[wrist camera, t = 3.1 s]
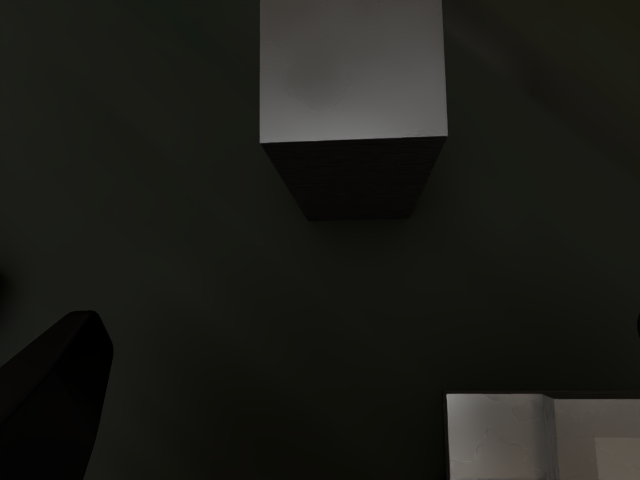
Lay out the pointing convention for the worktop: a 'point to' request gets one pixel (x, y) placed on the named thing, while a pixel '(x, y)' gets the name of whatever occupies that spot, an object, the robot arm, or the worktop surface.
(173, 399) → the worktop surface
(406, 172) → the grey rectangular block
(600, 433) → the grey tray
